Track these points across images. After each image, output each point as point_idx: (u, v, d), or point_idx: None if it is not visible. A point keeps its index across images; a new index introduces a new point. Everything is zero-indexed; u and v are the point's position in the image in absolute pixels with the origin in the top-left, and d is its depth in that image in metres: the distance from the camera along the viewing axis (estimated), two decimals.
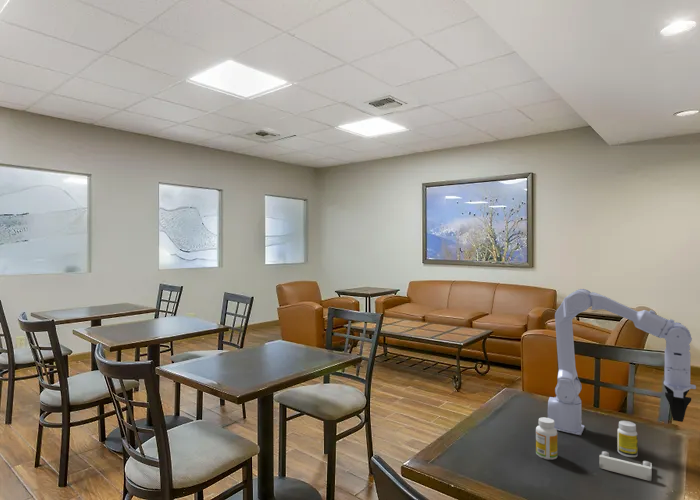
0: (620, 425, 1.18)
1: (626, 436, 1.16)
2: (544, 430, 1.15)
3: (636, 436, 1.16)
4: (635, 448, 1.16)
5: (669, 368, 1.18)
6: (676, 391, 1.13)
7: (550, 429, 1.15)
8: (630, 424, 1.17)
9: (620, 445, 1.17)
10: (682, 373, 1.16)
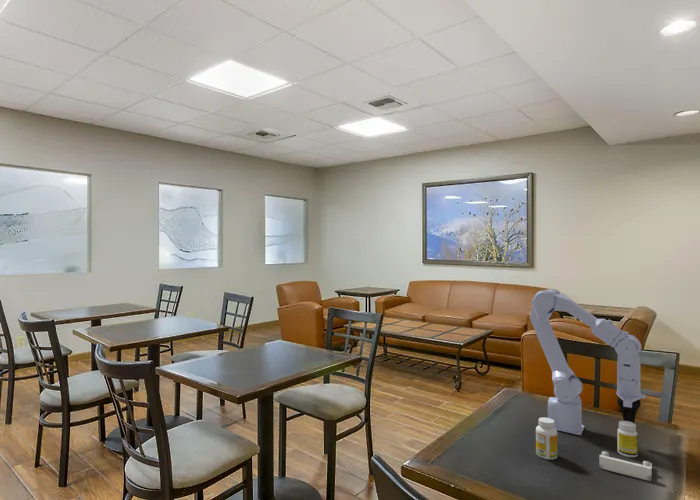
0: (620, 425, 1.18)
1: (626, 436, 1.16)
2: (544, 430, 1.15)
3: (636, 436, 1.16)
4: (635, 448, 1.16)
5: (620, 379, 1.23)
6: (625, 401, 1.18)
7: (550, 429, 1.15)
8: (630, 424, 1.17)
9: (620, 445, 1.17)
10: (632, 383, 1.21)
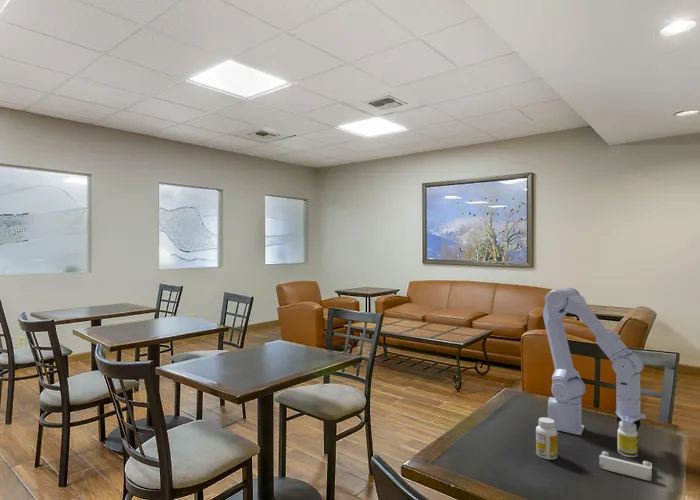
0: (620, 426, 1.17)
1: (626, 437, 1.16)
2: (544, 430, 1.15)
3: (636, 436, 1.15)
4: (635, 448, 1.15)
5: (620, 398, 1.20)
6: (625, 422, 1.15)
7: (550, 429, 1.15)
8: None
9: (621, 446, 1.17)
10: (632, 403, 1.18)
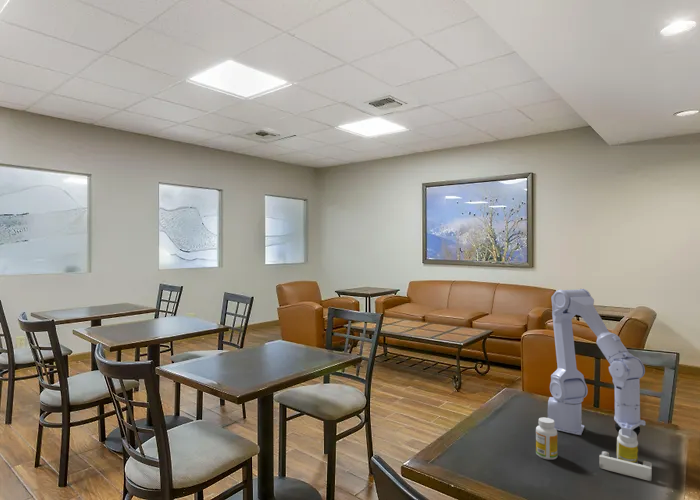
0: (620, 436, 1.11)
1: (627, 448, 1.10)
2: (544, 430, 1.15)
3: (637, 446, 1.10)
4: (635, 457, 1.11)
5: (618, 403, 1.14)
6: (624, 429, 1.09)
7: (550, 429, 1.15)
8: (631, 434, 1.11)
9: (620, 455, 1.12)
10: (631, 409, 1.12)
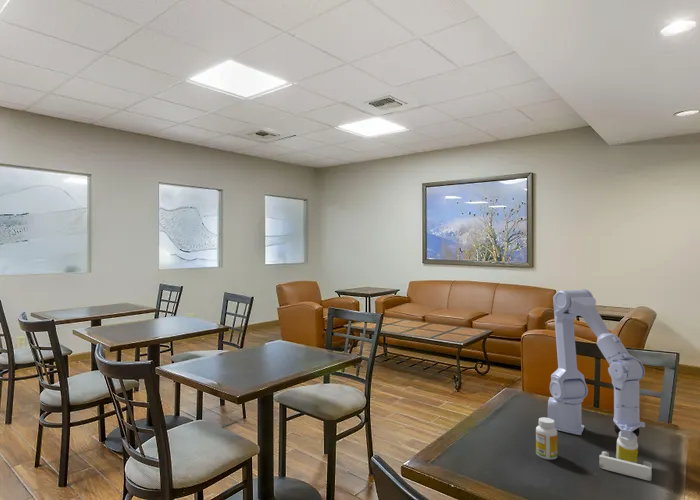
0: (621, 438, 1.10)
1: (627, 450, 1.09)
2: (544, 430, 1.15)
3: (637, 448, 1.09)
4: (635, 459, 1.10)
5: (618, 405, 1.13)
6: (623, 431, 1.08)
7: (550, 429, 1.15)
8: (631, 436, 1.10)
9: (620, 457, 1.11)
10: (630, 411, 1.11)
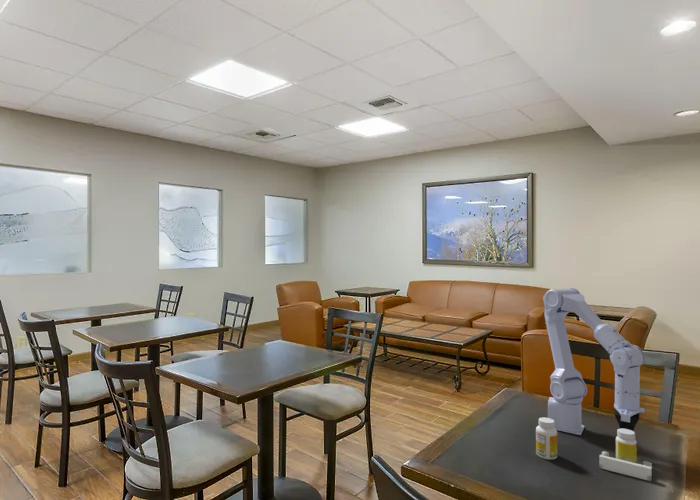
0: (619, 433, 1.12)
1: (626, 445, 1.11)
2: (544, 430, 1.15)
3: (636, 444, 1.11)
4: (635, 457, 1.10)
5: (618, 391, 1.16)
6: (623, 415, 1.12)
7: (550, 429, 1.15)
8: (629, 431, 1.12)
9: (620, 455, 1.12)
10: (631, 396, 1.14)
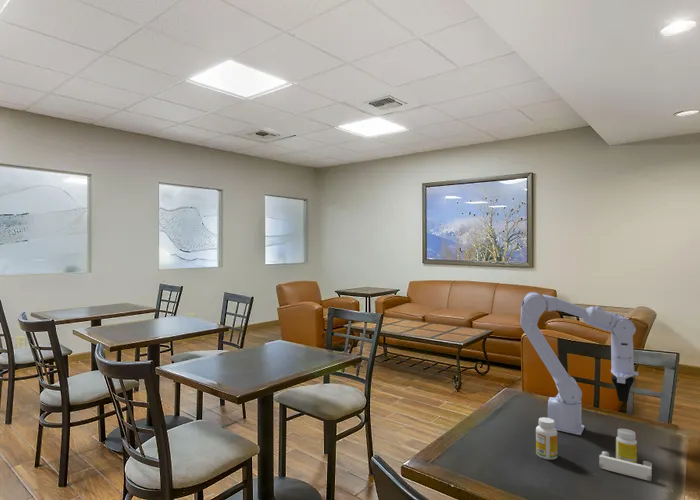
0: (619, 433, 1.12)
1: (626, 445, 1.11)
2: (544, 430, 1.15)
3: (636, 444, 1.11)
4: (635, 457, 1.10)
5: (614, 357, 1.29)
6: (619, 377, 1.24)
7: (550, 429, 1.15)
8: (630, 432, 1.12)
9: (620, 455, 1.12)
10: (625, 361, 1.27)
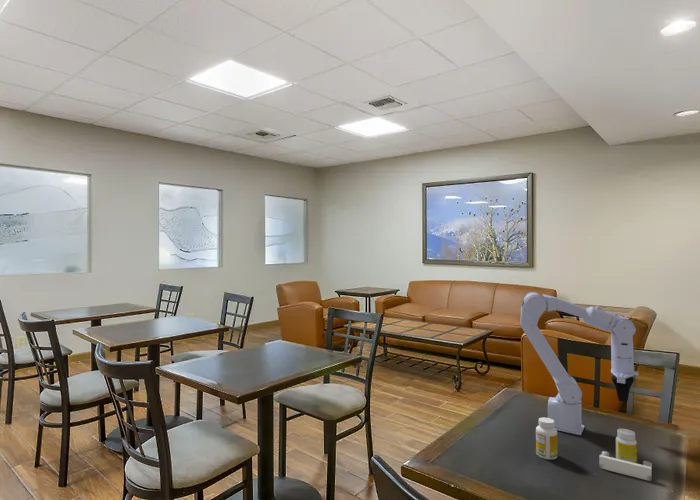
0: (619, 434, 1.12)
1: (626, 445, 1.11)
2: (544, 430, 1.15)
3: (636, 444, 1.11)
4: (635, 457, 1.10)
5: (614, 357, 1.29)
6: (619, 377, 1.24)
7: (550, 429, 1.15)
8: (629, 432, 1.12)
9: (620, 455, 1.12)
10: (625, 361, 1.27)
